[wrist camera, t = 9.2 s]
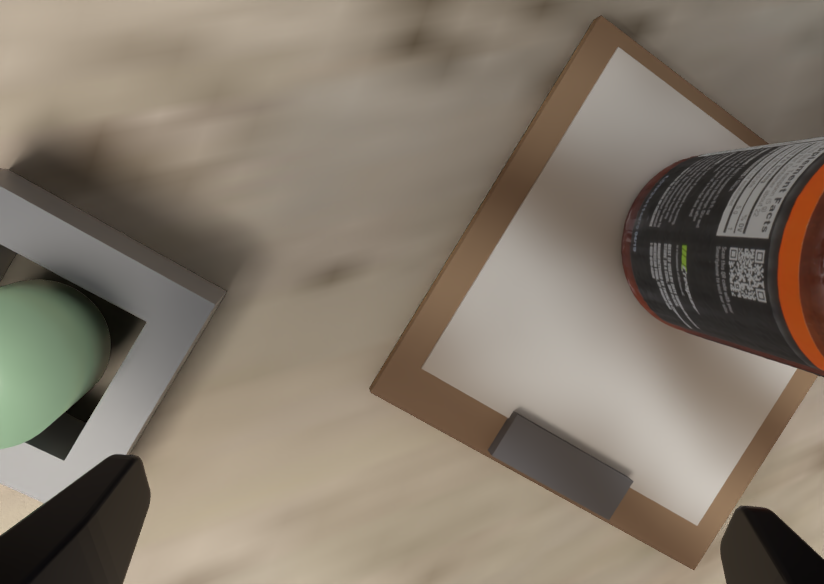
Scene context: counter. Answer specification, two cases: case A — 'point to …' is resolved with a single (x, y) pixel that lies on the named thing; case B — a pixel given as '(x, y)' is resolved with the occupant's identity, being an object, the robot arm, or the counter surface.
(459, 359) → the clipboard
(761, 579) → the robot arm
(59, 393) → the button
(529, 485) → the counter surface
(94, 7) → the counter surface
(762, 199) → the supplement bottle
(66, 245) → the button housing
